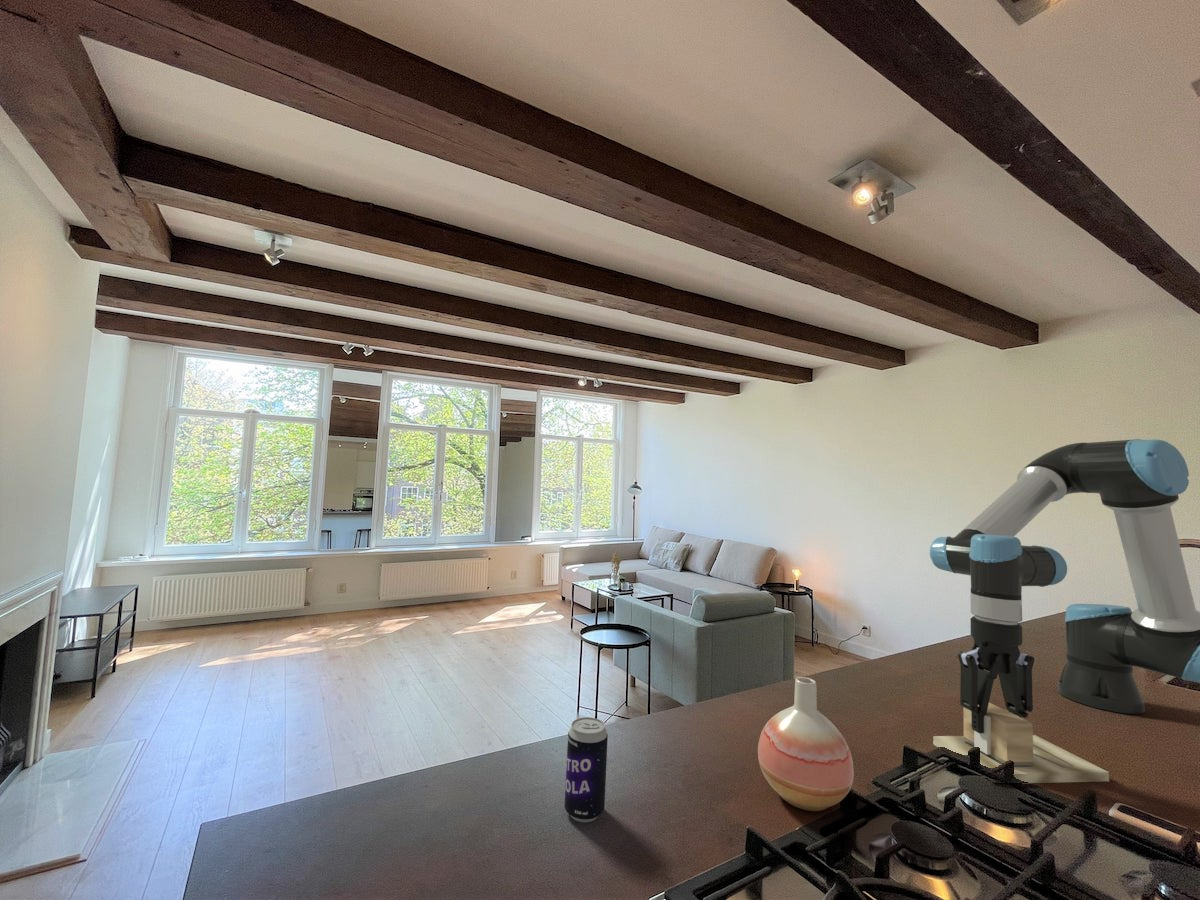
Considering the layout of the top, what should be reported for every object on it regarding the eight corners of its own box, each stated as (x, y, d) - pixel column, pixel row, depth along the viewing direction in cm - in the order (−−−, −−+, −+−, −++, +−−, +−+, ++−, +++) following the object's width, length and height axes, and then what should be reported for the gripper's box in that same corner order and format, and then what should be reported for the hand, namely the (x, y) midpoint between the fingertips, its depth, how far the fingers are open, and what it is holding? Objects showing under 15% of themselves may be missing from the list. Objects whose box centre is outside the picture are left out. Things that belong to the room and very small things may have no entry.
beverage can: (563, 800, 74) (568, 715, 75) (602, 800, 75) (606, 716, 75) (564, 826, 68) (569, 734, 69) (606, 826, 69) (610, 734, 70)
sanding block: (963, 739, 96) (963, 701, 96) (987, 739, 96) (987, 701, 97) (1007, 765, 87) (1006, 723, 87) (1033, 765, 87) (1032, 723, 88)
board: (1035, 742, 100) (1035, 735, 100) (1109, 781, 87) (1108, 772, 87) (933, 744, 97) (933, 736, 97) (993, 783, 84) (993, 774, 84)
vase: (875, 821, 73) (876, 695, 74) (794, 834, 69) (797, 701, 70) (810, 769, 86) (812, 662, 87) (739, 778, 82) (743, 666, 83)
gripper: (1020, 615, 98) (1021, 739, 96) (935, 613, 96) (935, 740, 94) (1059, 625, 91) (1062, 761, 89) (968, 624, 88) (969, 762, 87)
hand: (996, 750), depth 91 cm, fingers closed on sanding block, 5 cm apart
